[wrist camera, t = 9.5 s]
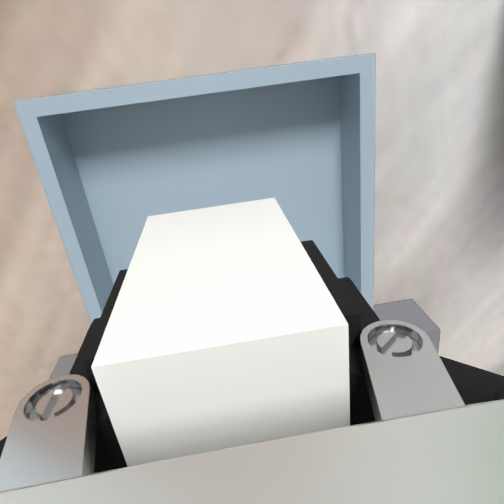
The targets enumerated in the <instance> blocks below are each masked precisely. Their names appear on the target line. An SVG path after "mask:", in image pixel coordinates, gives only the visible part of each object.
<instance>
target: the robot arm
mask: <svg viewBox="0 0 504 504" xmlns="http://www.w3.org/2000/svg"><path fill="white" fill-rule="evenodd" d="M301 244H302V246H303V247H304V249H305V251H306V252H307V254H308V256H309V258H310V259H311V261H312V263H313V264H314V266H315V268H316V270H317V271H318V273H319V275H320V276H321V278H322V280H323V282H324V283H325V285H326V287H327V288H328V290H329V292H330V293H331V295H332V297H333V299H334V300H335V302H336V304H337V305H338V307H339V309H340V311H341V312H342V314H343V316H344V317H345V319H346V321H347V323H348V331H349V389H350V426H346V427H341V428H335V429H330V430H324V431H319V432H313V433H307V434H302V435H296V436H291V437H286V438H280V439H275V440H269V441H264V442H258V443H253V444H248V445H242V446H237V447H231V448H226V449H221V450H215V451H210V452H204V453H199V454H194V455H188V456H183V457H178V458H172V459H167V460H162V461H156V462H151V463H146V464H140V465H135V466H130V467H128V466H127V463H126V461H125V458H124V455H123V453H122V450H121V447H120V444H119V442H118V439H117V436H116V434H115V431H114V428H113V426H112V423H111V420H110V417H109V415H108V412H107V409H106V407H105V404H104V401H103V398H102V396H101V393H100V390H99V388H98V385H97V382H96V379H95V377H94V374H93V371H92V369H91V366H92V364H93V361H94V358H95V356H96V353H97V350H98V348H99V345H100V342H101V340H102V337H103V334H104V332H105V329H106V326H107V324H108V321H109V318H110V316H111V313H112V310H113V308H114V305H115V303H116V300H117V297H118V295H119V292H120V289H121V287H122V284H123V281H124V279H125V276H126V273H127V271H128V269H125V270H120V271H119V274H118V276H117V278H116V281H115V283H114V286H113V288H112V290H111V293H110V295H109V297H108V300H107V302H106V305H105V307H104V309H103V312H102V314H101V317H100V318H96V319H94V320H93V322H92V323H91V326H90V328H89V330H88V332H87V335H86V337H85V339H84V341H83V344H82V346H81V348H80V350H79V353H78V355H77V357H76V360H75V362H74V364H73V366H72V369H71V371H70V373H69V374H68V375H62V376H58V377H55V378H52V379H50V380H47V381H45V382H43V383H42V384H40V385H38V386H36V387H35V388H34V389H32V390H31V391H30V392H29V393H27V394H26V396H25V397H24V398H23V399H22V400H21V401H20V403H19V405H18V406H17V408H16V410H15V414H14V417H13V420H12V423H11V426H10V429H9V433H8V436H6V437H5V438H4V439H2V440H1V441H0V504H504V376H501V375H498V374H495V373H492V372H489V371H485V370H482V369H479V368H476V367H473V366H470V365H466V364H463V363H460V362H457V361H454V360H451V359H447V358H444V357H441V356H439V355H438V353H437V351H436V349H435V347H434V345H433V343H432V342H431V340H430V338H429V337H428V335H427V334H426V333H425V332H424V331H423V330H422V329H420V328H419V327H417V326H415V325H413V324H410V323H408V322H403V321H398V320H383V321H381V320H380V319H379V318H378V316H377V315H376V314H375V312H374V311H373V309H372V308H371V307H370V305H369V304H368V302H367V301H366V300H365V298H364V297H363V296H362V294H361V293H360V291H359V290H358V289H357V287H356V286H355V284H354V283H353V282H352V280H351V279H350V278H349V277H344V278H337V276H336V275H335V273H334V272H333V270H332V269H331V267H330V266H329V264H328V263H327V261H326V260H325V258H324V257H323V255H322V254H321V252H320V251H319V249H318V248H317V246H316V245H315V243H314V242H313V240H308V241H301Z"/></svg>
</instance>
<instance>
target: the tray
mask: <svg viewBox="0 0 504 504" xmlns="http://www.w3.org/2000/svg"><path fill="white" fill-rule="evenodd" d="M375 95H376V53H370V54H362V55H354V56H346V57H338V58H331V59H324V60H316V61H309V62H301V63H294V64H286V65H279V66H271V67H264V68H256V69H249V70H241V71H234V72H226V73H219V74H211V75H204V76H196V77H189V78H181V79H174V80H166V81H159V82H151V83H144V84H136V85H129V86H122V87H114V88H107V89H99V90H92V91H84V92H77V93H69V94H62V95H54V96H47V97H40V98H33V99H26V100H19V101H13V103H14V106H15V108H16V111H17V114H18V117H19V120H20V123H21V125H22V128H23V131H24V134H25V137H26V140H27V143H28V145H29V148H30V151H31V154H32V157H33V160H34V162H35V165H36V168H37V171H38V174H39V177H40V179H41V182H42V185H43V188H44V191H45V194H46V197H47V199H48V202H49V205H50V208H51V211H52V214H53V216H54V219H55V222H56V225H57V228H58V231H59V233H60V236H61V239H62V242H63V245H64V248H65V250H66V253H67V256H68V259H69V262H70V265H71V268H72V270H73V273H74V276H75V279H76V282H77V285H78V287H79V290H80V293H81V296H82V299H83V302H84V304H85V307H86V310H87V313H88V316H89V319H90V322H91V323H92V322H93V320H94V319H96V318H100V317H101V314H102V312H103V309H104V307H105V305H106V302H107V300H108V297H109V295H110V293H111V290H112V288H113V286H114V283H115V281H116V278H117V276H118V274H119V271H120V270H125V269H128V268H129V265H130V263H131V260H132V257H133V255H134V252H135V249H136V247H137V244H138V241H139V239H140V236H141V234H142V231H143V228H144V226H145V223H146V220H147V218H148V216H153V215H160V214H167V213H174V212H180V211H187V210H194V209H201V208H207V207H214V206H221V205H228V204H234V203H241V202H248V201H254V200H261V199H268V198H275V199H276V201H277V203H278V205H279V206H280V208H281V210H282V211H283V213H284V215H285V217H286V218H287V220H288V222H289V223H290V225H291V227H292V228H293V230H294V232H295V234H296V235H297V237H298V239H299V240H300V242H301V241H308V240H313V242H314V243H315V245H316V246H317V248H318V249H319V251H320V252H321V254H322V255H323V257H324V258H325V260H326V261H327V263H328V264H329V266H330V267H331V269H332V270H333V272H334V273H335V275H336V276H337V278H344V277H349V278H350V279H351V280H352V282H353V283H354V284H355V286H356V287H357V289H358V290H359V291H360V293H361V294H362V296H363V297H364V298H365V300H366V301H367V302H368V304H369V305H370V307H371V308H372V309H373V299H374V197H375Z"/></svg>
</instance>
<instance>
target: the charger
mask: <svg viewBox="0 0 504 504" xmlns="http://www.w3.org/2000/svg"><path fill="white" fill-rule="evenodd" d="M91 369H92V371H93V374H94V377H95V379H96V382H97V385H98V388H99V390H100V393H101V396H102V398H103V401H104V404H105V407H106V409H107V412H108V415H109V417H110V420H111V423H112V426H113V428H114V431H115V434H116V436H117V439H118V442H119V444H120V447H121V450H122V453H123V455H124V458H125V461H126V463H127V466H128V467H130V466H135V465H140V464H146V463H151V462H156V461H162V460H167V459H172V458H178V457H183V456H188V455H194V454H199V453H204V452H210V451H215V450H221V449H226V448H231V447H237V446H242V445H248V444H253V443H258V442H264V441H269V440H275V439H280V438H286V437H291V436H296V435H302V434H307V433H313V432H319V431H324V430H330V429H335V428H341V427H346V426H350V389H349V331H348V323H347V321H346V319H345V317H344V316H343V314H342V312H341V311H340V309H339V307H338V305H337V304H336V302H335V300H334V299H333V297H332V295H331V293H330V292H329V290H328V288H327V287H326V285H325V283H324V282H323V280H322V278H321V276H320V275H319V273H318V271H317V270H316V268H315V266H314V264H313V263H312V261H311V259H310V258H309V256H308V254H307V252H306V251H305V249H304V247H303V246H302V244H301V242H300V240H299V239H298V237H297V235H296V234H295V232H294V230H293V228H292V227H291V225H290V223H289V222H288V220H287V218H286V217H285V215H284V213H283V211H282V210H281V208H280V206H279V205H278V203H277V201H276V199H275V198H268V199H261V200H254V201H248V202H241V203H234V204H228V205H221V206H214V207H207V208H201V209H194V210H187V211H180V212H174V213H167V214H160V215H153V216H148V218H147V220H146V223H145V226H144V228H143V231H142V234H141V236H140V239H139V241H138V244H137V247H136V249H135V252H134V255H133V257H132V260H131V263H130V265H129V268H128V271H127V273H126V276H125V279H124V281H123V284H122V287H121V289H120V292H119V295H118V297H117V300H116V303H115V305H114V308H113V310H112V313H111V316H110V318H109V321H108V324H107V326H106V329H105V332H104V334H103V337H102V340H101V342H100V345H99V348H98V350H97V353H96V356H95V358H94V361H93V364H92V366H91Z"/></svg>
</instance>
